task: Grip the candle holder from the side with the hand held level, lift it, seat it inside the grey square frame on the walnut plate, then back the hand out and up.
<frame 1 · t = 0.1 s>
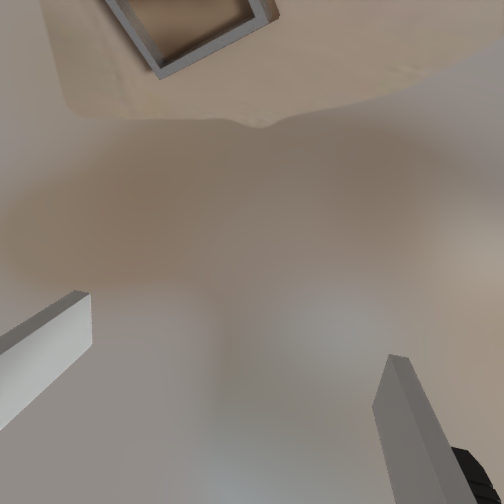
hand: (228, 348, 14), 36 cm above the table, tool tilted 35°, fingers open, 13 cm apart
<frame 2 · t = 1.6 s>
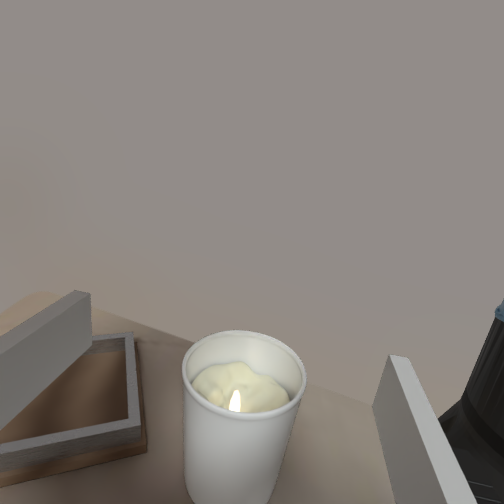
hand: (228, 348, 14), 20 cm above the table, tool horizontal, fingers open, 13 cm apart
grey square frame: (59, 389, 34), on the walnut plate, point 1 cm above the table
walnut plate: (60, 404, 34), on the table
candle holder: (230, 473, 30), on the table
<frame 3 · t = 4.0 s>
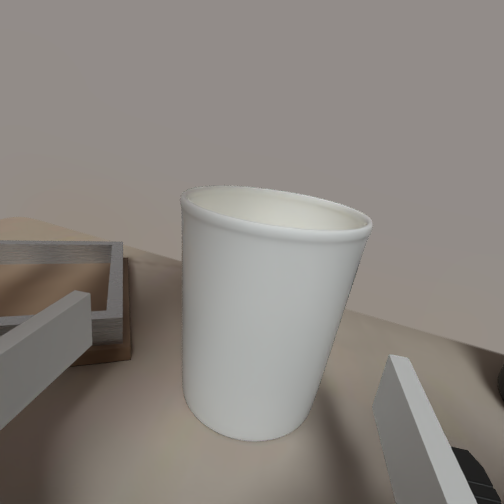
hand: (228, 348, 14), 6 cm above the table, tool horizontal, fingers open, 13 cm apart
grey square frame: (18, 284, 25), on the walnut plate, point 1 cm above the table
walnut plate: (21, 307, 26), on the table
candle holder: (247, 389, 21), on the table
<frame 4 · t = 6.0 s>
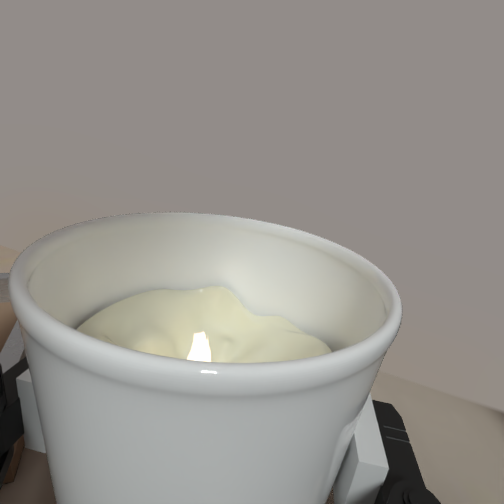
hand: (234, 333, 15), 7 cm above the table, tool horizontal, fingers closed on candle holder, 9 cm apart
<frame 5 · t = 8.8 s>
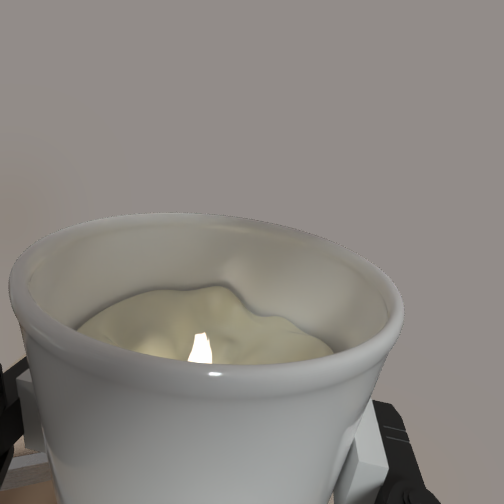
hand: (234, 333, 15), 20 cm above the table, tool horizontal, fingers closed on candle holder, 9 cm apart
when the fingers open (9 cm above the table, at t = 11.8 s): candle holder drops 1 cm, resting on walnut plate.
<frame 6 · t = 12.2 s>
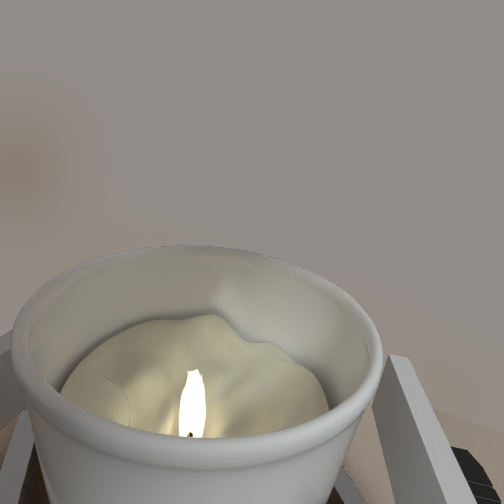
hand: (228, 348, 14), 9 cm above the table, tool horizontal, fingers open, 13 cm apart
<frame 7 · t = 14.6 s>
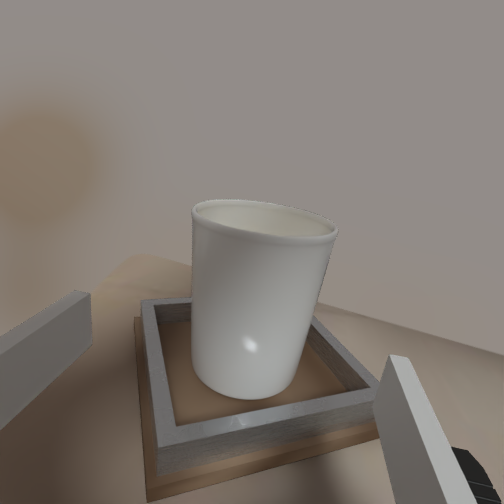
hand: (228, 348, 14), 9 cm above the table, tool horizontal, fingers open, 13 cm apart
grey square frame: (246, 351, 26), on the walnut plate, point 1 cm above the table
walnut plate: (243, 372, 26), on the table
candle holder: (243, 363, 26), point 1 cm above the table, touching walnut plate
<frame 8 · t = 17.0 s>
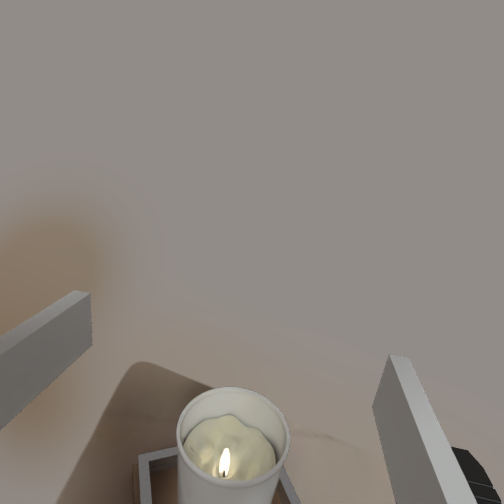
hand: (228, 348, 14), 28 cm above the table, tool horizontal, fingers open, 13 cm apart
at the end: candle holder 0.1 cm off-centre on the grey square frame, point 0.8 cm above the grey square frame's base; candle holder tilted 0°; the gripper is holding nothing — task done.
